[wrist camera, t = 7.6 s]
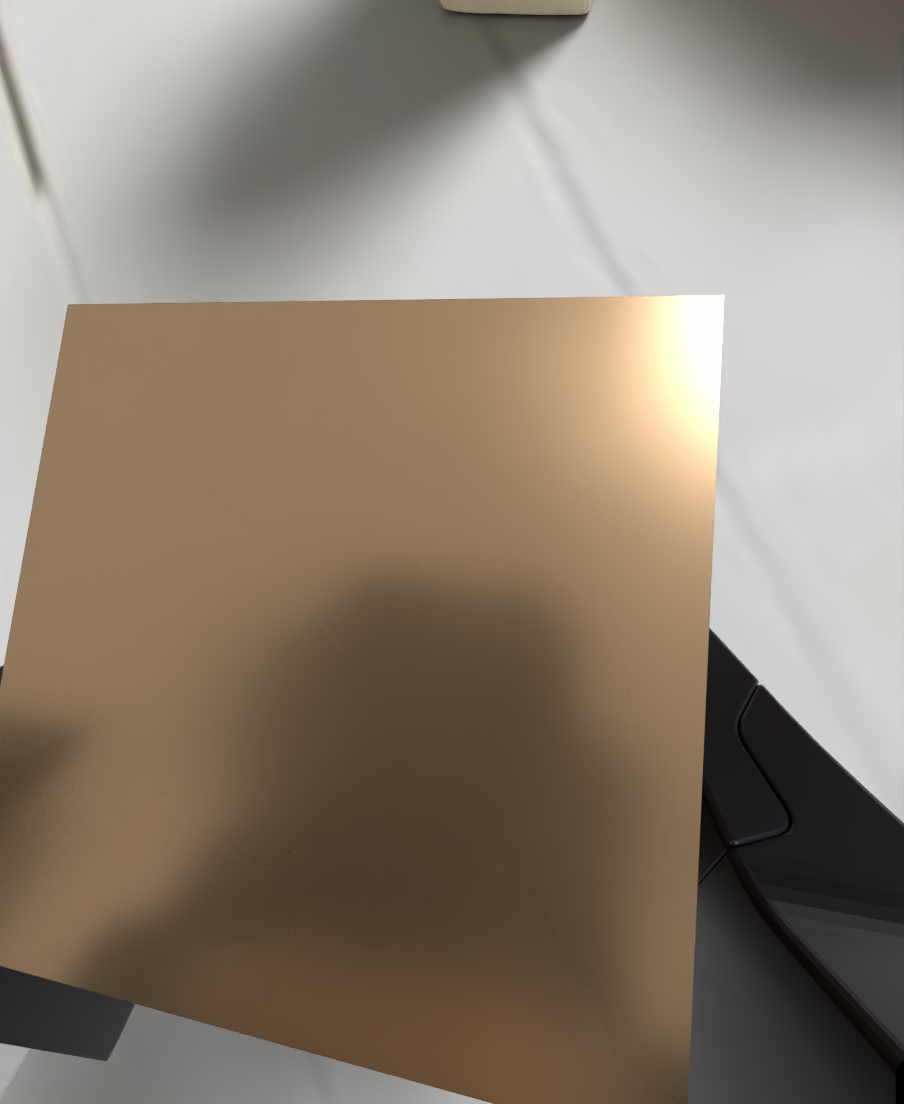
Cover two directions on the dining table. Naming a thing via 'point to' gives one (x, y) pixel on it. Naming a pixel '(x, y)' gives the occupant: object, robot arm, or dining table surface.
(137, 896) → the tall tan wooden block
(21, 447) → the dining table surface
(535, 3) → the toy refrigerator
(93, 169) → the dining table surface
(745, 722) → the robot arm
